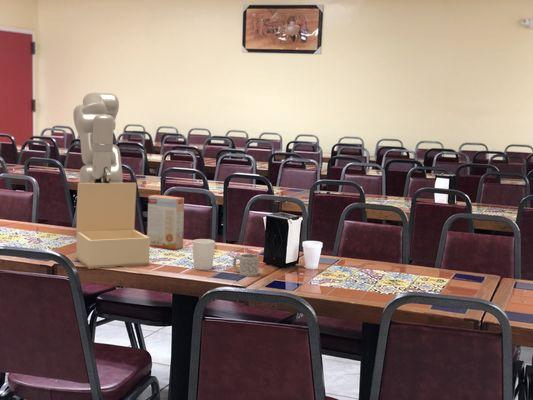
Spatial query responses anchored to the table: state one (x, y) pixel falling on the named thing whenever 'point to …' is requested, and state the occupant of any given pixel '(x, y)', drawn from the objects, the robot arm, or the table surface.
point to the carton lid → (105, 206)
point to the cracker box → (165, 221)
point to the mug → (247, 264)
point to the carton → (112, 248)
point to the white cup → (203, 254)
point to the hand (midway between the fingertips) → (101, 193)
